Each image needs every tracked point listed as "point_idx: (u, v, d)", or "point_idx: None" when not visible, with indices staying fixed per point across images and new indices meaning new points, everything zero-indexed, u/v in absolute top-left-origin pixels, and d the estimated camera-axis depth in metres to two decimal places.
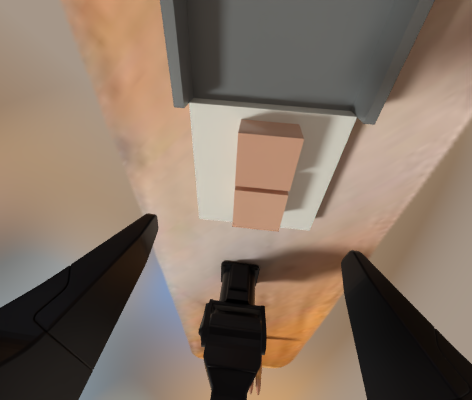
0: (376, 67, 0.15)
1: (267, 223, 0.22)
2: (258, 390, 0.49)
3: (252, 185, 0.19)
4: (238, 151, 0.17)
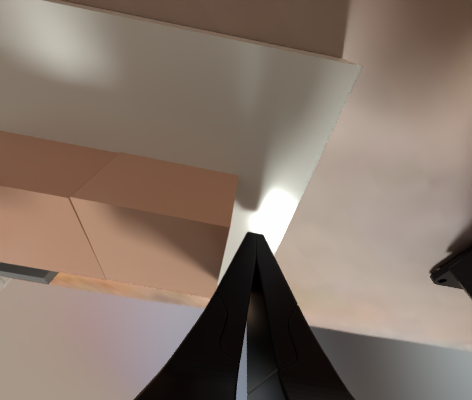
0: None
1: (194, 247, 0.07)
2: None
3: (91, 259, 0.09)
4: (29, 265, 0.09)
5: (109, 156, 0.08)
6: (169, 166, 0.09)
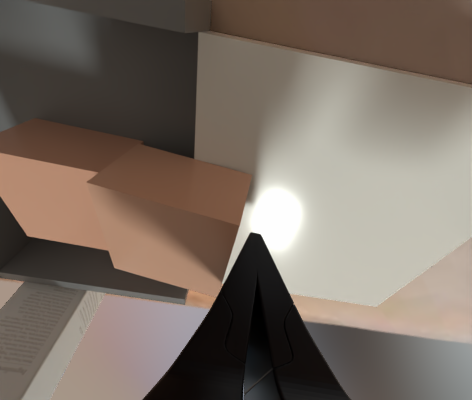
0: None
1: (202, 243, 0.07)
2: None
3: None
4: (58, 240, 0.11)
5: (135, 143, 0.10)
6: (184, 160, 0.09)
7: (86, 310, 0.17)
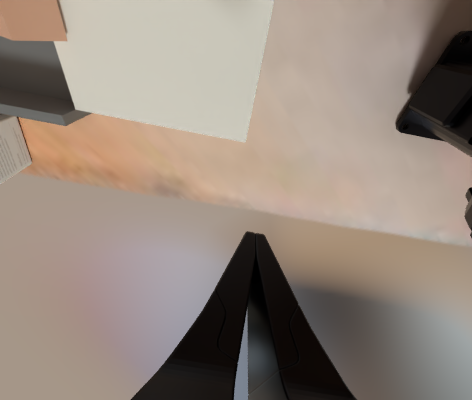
0: None
1: None
2: None
3: None
4: None
5: None
6: None
7: None
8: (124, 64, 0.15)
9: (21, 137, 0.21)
